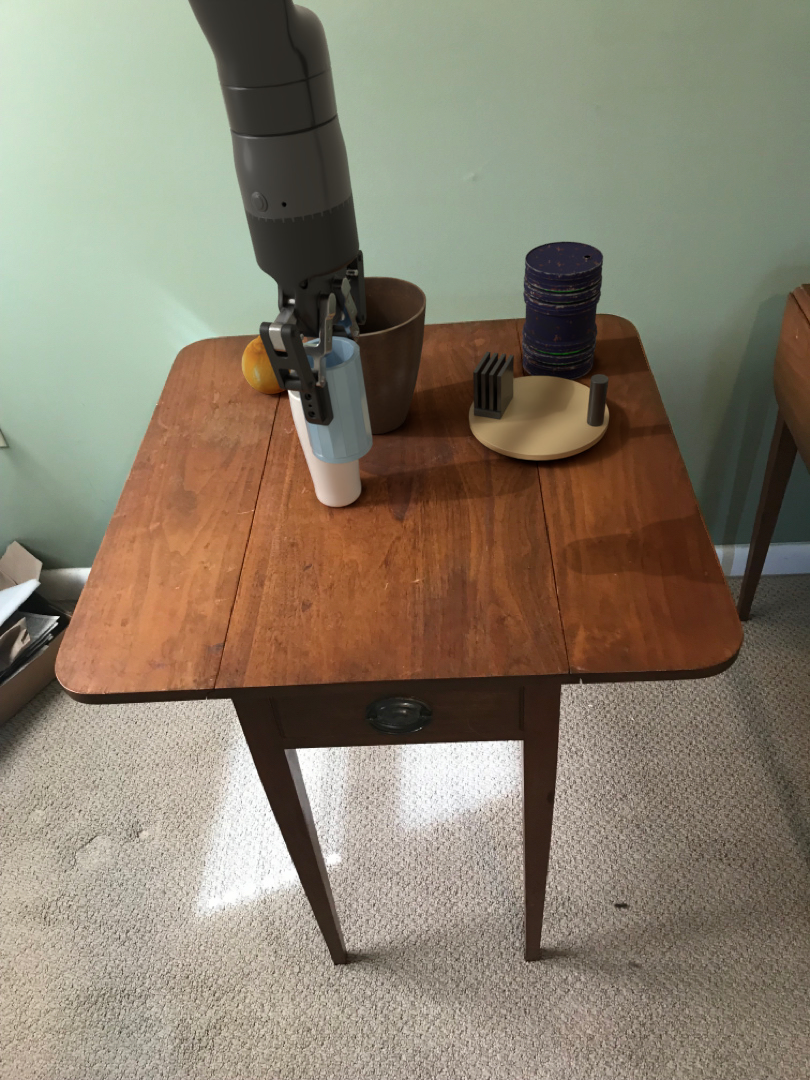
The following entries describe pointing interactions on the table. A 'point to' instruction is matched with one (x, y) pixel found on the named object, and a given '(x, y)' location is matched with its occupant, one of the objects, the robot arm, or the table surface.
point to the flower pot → (390, 348)
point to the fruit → (259, 368)
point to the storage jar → (561, 309)
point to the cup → (343, 407)
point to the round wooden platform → (535, 411)
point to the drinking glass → (326, 466)
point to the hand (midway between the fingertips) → (335, 401)
